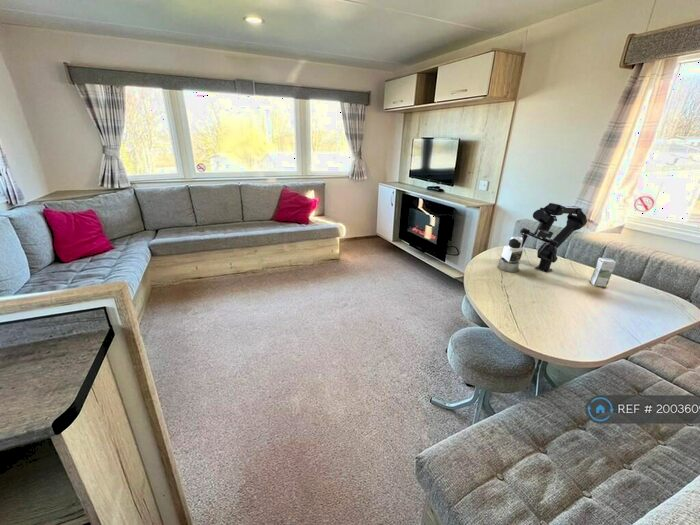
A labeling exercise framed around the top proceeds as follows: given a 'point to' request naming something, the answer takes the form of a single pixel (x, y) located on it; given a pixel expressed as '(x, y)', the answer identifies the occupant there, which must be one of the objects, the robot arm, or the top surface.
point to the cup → (520, 240)
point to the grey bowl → (508, 265)
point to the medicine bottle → (512, 251)
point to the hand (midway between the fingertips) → (529, 251)
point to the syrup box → (602, 272)
